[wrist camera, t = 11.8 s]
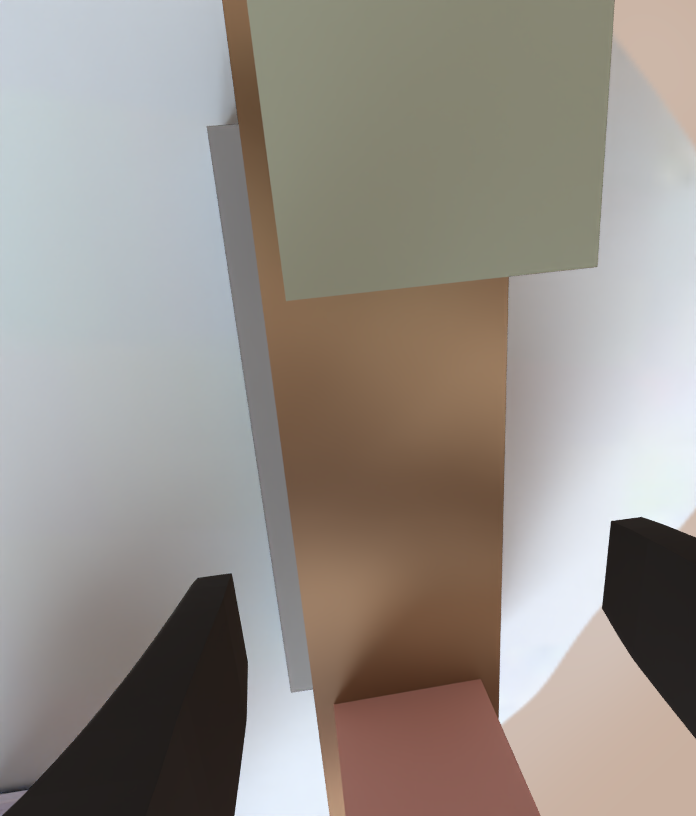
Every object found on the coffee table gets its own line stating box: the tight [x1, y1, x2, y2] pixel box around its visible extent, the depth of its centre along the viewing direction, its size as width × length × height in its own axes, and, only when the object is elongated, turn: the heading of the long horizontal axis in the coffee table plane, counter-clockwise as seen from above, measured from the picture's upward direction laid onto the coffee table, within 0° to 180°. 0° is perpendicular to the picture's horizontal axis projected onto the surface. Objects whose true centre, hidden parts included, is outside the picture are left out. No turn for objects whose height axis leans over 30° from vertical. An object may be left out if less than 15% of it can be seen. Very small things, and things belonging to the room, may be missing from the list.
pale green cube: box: [247, 0, 615, 301], centre depth 8 cm, size 4×4×4 cm
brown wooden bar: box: [222, 0, 509, 816], centre depth 14 cm, size 24×5×4 cm, turn 5°
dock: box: [207, 124, 313, 693], centre depth 17 cm, size 18×7×2 cm, turn 5°
